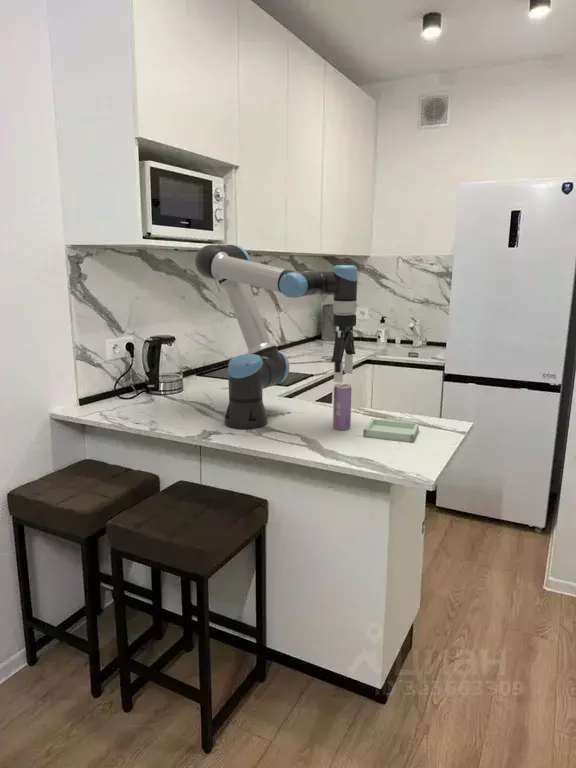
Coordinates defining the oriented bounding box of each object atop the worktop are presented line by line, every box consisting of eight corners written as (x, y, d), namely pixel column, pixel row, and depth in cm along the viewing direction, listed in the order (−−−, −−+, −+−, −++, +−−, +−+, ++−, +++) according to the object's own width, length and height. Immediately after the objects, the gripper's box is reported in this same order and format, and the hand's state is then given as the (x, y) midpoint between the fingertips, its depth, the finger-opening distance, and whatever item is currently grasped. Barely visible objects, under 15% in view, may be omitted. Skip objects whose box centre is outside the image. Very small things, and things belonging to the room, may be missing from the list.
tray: (363, 436, 180) (363, 429, 179) (371, 425, 192) (371, 418, 191) (413, 442, 174) (413, 435, 174) (418, 430, 186) (418, 423, 186)
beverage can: (353, 427, 189) (355, 385, 185) (342, 431, 185) (344, 388, 181) (340, 424, 193) (341, 382, 189) (329, 427, 189) (330, 385, 185)
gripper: (346, 318, 167) (345, 386, 172) (364, 310, 190) (362, 370, 195) (322, 317, 169) (322, 384, 174) (343, 309, 192) (341, 369, 197)
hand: (343, 377), depth 184 cm, fingers open, 13 cm apart
